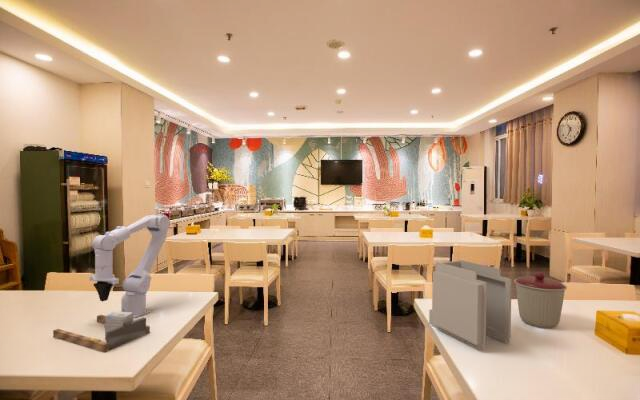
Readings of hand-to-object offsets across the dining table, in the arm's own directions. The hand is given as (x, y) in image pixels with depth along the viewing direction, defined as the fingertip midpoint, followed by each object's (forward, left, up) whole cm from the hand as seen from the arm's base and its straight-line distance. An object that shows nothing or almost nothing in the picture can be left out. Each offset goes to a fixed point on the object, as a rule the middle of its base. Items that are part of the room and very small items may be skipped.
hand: (104, 300), depth 130 cm
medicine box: (+16, -5, -10) cm, 19 cm away
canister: (+158, +75, -10) cm, 175 cm away
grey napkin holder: (+131, +50, -10) cm, 141 cm away
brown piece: (+8, -6, -10) cm, 14 cm away
